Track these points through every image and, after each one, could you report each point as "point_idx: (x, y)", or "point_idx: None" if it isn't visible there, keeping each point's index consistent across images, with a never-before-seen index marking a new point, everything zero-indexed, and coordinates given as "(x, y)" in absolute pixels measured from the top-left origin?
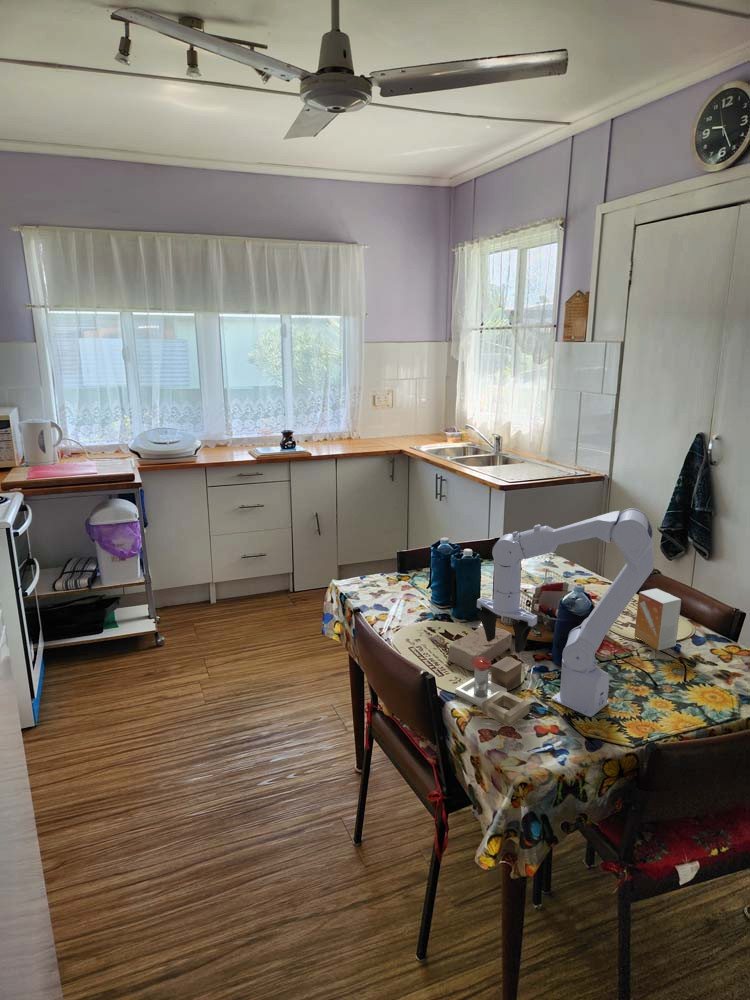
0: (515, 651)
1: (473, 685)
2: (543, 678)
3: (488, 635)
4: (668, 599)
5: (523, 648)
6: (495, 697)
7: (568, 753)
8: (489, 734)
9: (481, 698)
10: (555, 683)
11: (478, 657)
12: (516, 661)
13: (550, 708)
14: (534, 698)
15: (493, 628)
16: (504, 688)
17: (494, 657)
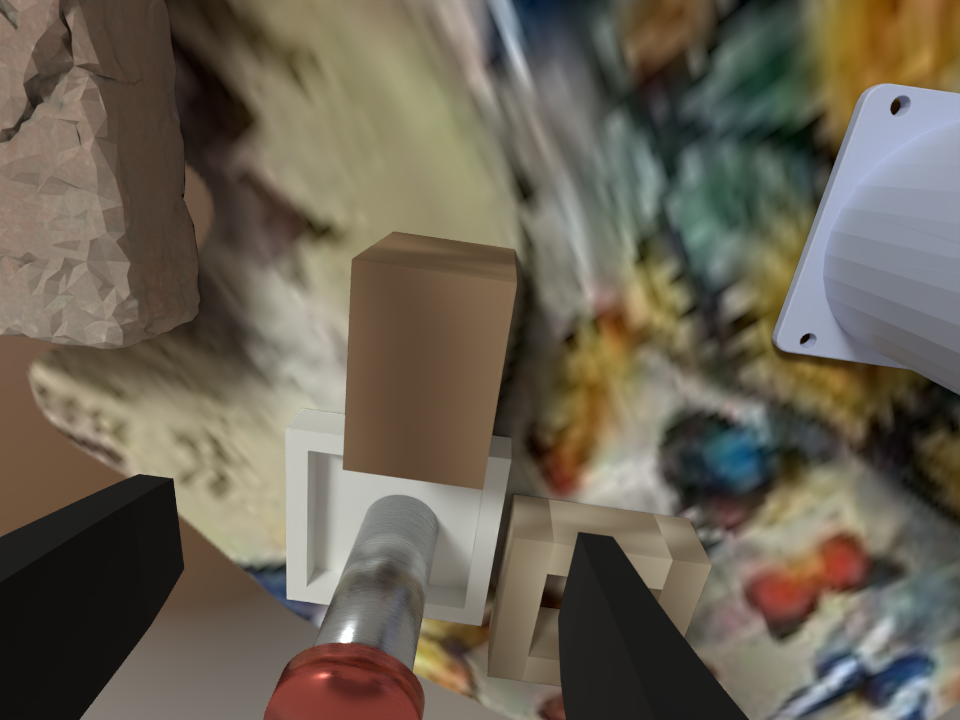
0: (559, 628)
1: (320, 480)
2: (636, 93)
3: (119, 660)
4: None
5: (625, 556)
6: (520, 613)
7: (934, 668)
8: None
9: None
10: (741, 107)
11: (283, 708)
12: (469, 297)
13: (783, 418)
14: (666, 378)
15: (35, 624)
16: (498, 465)
17: (168, 33)
